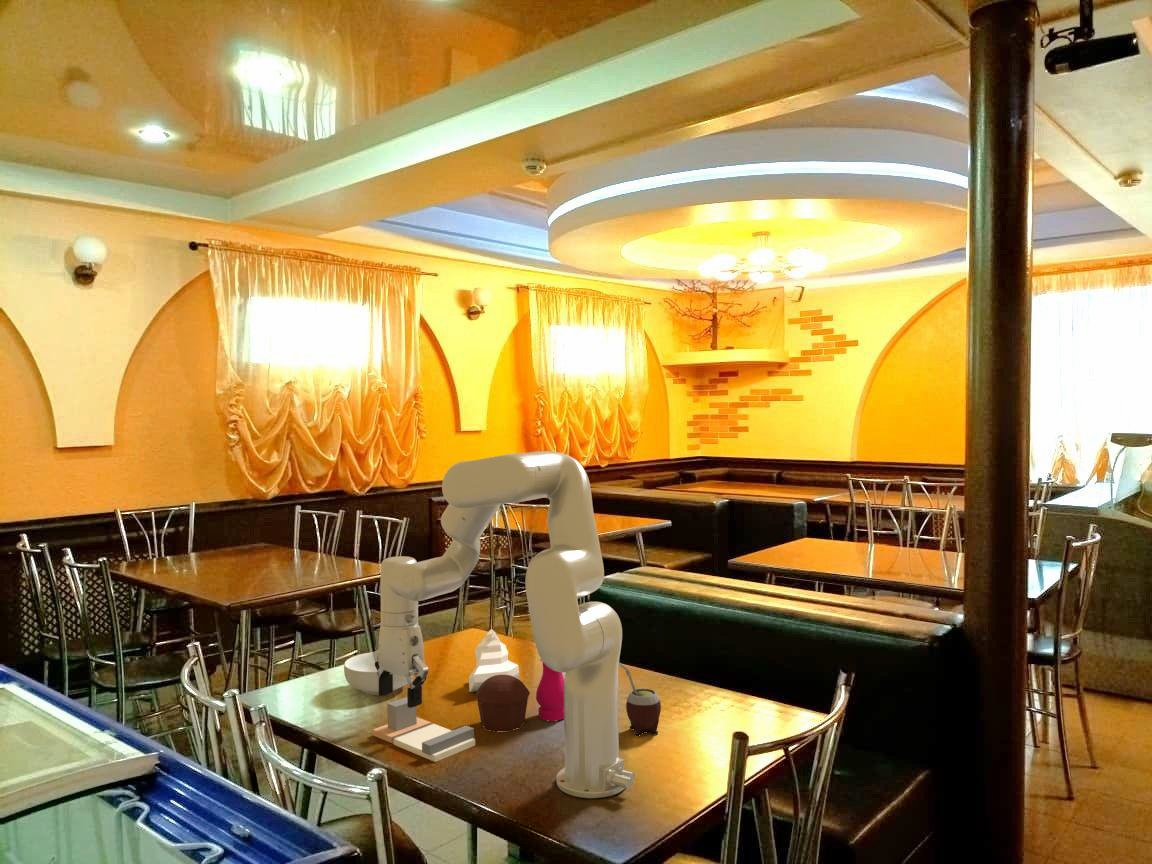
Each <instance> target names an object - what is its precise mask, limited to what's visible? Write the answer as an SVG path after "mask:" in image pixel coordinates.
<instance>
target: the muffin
mask: <svg viewBox="0 0 1152 864" xmlns="http://www.w3.org/2000/svg"><path fill="white" fill-rule="evenodd" d="M475 692H476V693H474V695H475V697H476V699H477V701H476V702H477V705H478V711H479V718H480V724H481V726H482V727H483V726H484V727H483V729H484V728H485V729H486V730H485V729H484V730H485V731H487V730H491V731H490V732H492V731H495V732H497V731H511V730H513V729H516V728H520V727H521V728H522V726H523V725H524V724H525V721H526V713H527V707H528V699H529V696H530V694H531V692H530V690H529V689H528V688H527V687H526V685H525V684H524V682H523V681H522V680H521V679H520V678H519V679H517V678H516V677H513V676H511V675H495V676H492V677H490V678H488V679H487V680H485V681H484V682H483V683H482V685H481V686H480V687H479V689H478V691H475ZM523 723H524V724H523ZM522 724H523V725H522ZM521 725H522V726H521ZM521 728H520V729H521ZM495 732H494V733H495ZM511 732H512V731H511Z"/></svg>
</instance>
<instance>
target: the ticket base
mask: <svg viewBox="0 0 1152 864" xmlns="http://www.w3.org/2000/svg"><path fill="white" fill-rule="evenodd" d="M392 745H394V746H397V747H399V748H401V749H403V750H406V751H408V752H411V753H413V754H415V755H418V756H420V757H422V758H425V759H426V760H429V761H431V762H435V763H437V762H440V761H441V760H443V759H446V758H448V757H451V756H453V755H456V754H458V753H461V752H463V751H466V750H468V749H470V748H473V747H475V746H476V738H475V728H474V727H471V726H469V725H463V726H461V727H458V728H456V729H453V730H451V729H449V728H446V727H443V726H441V725H438V724H436V723H433V722H431V724H429V725H426V726H424V727H421V728H418V729H416V730H413V731H410V732H408V733H405V734H402V735H400V736H397V737H394V738H393V743H392Z"/></svg>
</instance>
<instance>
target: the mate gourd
mask: <svg viewBox="0 0 1152 864" xmlns="http://www.w3.org/2000/svg"><path fill="white" fill-rule="evenodd" d="M619 667H621V668H623V670H624V671H625V673H626V676H628V679H629V682H630V685H631V688H632V690H630V692H629V694H628V696H627V698H626V703H625V709H626V710H625V711H626V714H627V717H628V719H629V722H630V726H629V729H630V730H631V729H634V730H633V731H635V730H636V731H635V732H636V733H634V736H635V735H636V736H639V735H640V736H642V735H643V734H645V733H644V732H647V733H646V734H648V733H651V734H650V735H653V734H656V735H655V736H657V735H658V734H659V732H658V727H659V722H660V715H661V710H662V705H661V703H662V702H661V698H660V696H659V695H658V693H657V692H656V691H655V690H653V689H650V688H636V686H635V684H634V681H633V678H632V676H631V675H632V674H631V671H630V670H629V668H628V667H626V666H625V665H624V664H623V663H621V662H619ZM642 733H643V734H642ZM641 734H642V735H641ZM636 736H635V737H636ZM640 736H639V737H640Z"/></svg>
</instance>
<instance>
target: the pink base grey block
mask: <svg viewBox="0 0 1152 864" xmlns="http://www.w3.org/2000/svg"><path fill="white" fill-rule="evenodd" d="M386 707H387V710H386V711H387V712H386V713H387V724H384V725H381V726H379V727H375V728H373V729H372V736H373V737H376V738H378V739H381V740H383V741H386V742H388V743H390V744H393V738H394V737H397V736H400V735H402V734H405V733H408V732H410V731H413V730H416V729H418V728H421V727H424V726H426V725H429V724H432V722H431V721H429V720H426V719H423V718H421V717H418V716H417V706H415V707H412V708H409V707H408V705H407V696H405V697H402V698H400V699H397V700H394V701H391V702H387V704H386Z"/></svg>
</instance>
